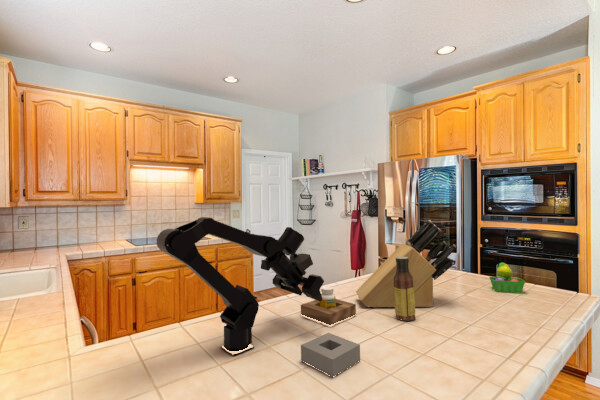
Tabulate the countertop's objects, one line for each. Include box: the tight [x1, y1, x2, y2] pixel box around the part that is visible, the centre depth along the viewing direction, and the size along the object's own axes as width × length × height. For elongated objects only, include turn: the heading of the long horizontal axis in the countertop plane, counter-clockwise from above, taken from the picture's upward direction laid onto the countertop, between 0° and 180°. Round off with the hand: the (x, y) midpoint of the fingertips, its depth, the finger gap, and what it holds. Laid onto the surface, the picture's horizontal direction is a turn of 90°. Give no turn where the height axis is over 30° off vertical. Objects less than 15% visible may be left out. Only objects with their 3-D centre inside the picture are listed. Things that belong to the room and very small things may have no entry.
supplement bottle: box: [320, 286, 337, 309], centre depth 104 cm, size 5×5×10 cm
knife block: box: [355, 219, 457, 308], centre depth 117 cm, size 11×35×31 cm, turn 89°
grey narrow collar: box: [300, 332, 361, 378], centre depth 75 cm, size 10×10×4 cm
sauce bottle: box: [394, 257, 416, 322], centre depth 102 cm, size 7×6×20 cm
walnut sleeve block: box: [300, 298, 357, 325], centre depth 104 cm, size 13×13×4 cm
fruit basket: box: [488, 262, 526, 294], centre depth 131 cm, size 11×9×11 cm
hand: (311, 297), depth 100 cm, fingers open, 9 cm apart
